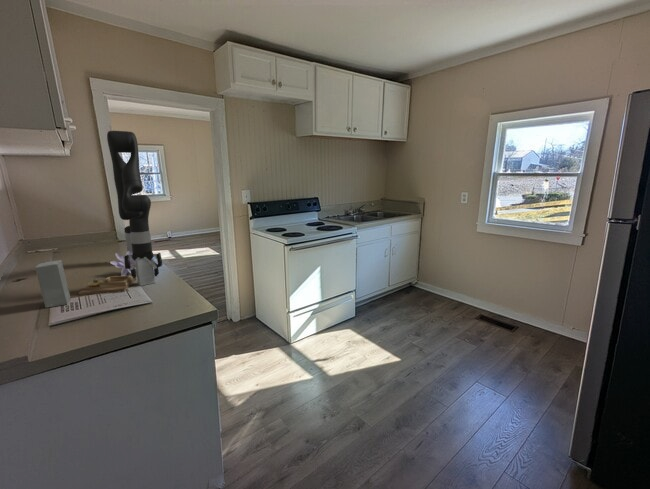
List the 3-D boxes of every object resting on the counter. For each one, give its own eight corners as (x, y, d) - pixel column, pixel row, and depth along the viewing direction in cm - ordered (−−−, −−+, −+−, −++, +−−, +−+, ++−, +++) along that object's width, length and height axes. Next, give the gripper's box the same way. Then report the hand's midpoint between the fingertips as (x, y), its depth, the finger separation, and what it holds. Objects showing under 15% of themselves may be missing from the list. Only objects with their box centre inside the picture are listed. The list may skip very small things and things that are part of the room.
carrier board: (96, 282, 137) (95, 275, 136) (136, 279, 141) (135, 273, 141) (79, 295, 122) (77, 287, 121) (124, 291, 126) (123, 284, 126)
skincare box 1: (67, 304, 113) (60, 264, 109) (42, 309, 109) (33, 266, 106) (71, 297, 120) (64, 258, 116) (47, 301, 116) (39, 261, 113)
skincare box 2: (152, 280, 140) (149, 255, 137) (155, 283, 137) (152, 257, 135) (137, 283, 136) (134, 258, 133) (140, 286, 133) (136, 259, 130)
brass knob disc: (91, 283, 132) (90, 278, 131) (105, 282, 133) (104, 277, 133) (86, 287, 127) (85, 281, 127) (100, 286, 128) (99, 281, 128)
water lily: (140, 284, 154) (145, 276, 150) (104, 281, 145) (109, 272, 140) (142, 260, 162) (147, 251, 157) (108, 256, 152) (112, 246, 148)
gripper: (161, 239, 138) (164, 273, 141) (125, 240, 134) (130, 275, 137) (157, 242, 131) (161, 278, 134) (119, 243, 127) (124, 280, 130)
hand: (145, 276), depth 136 cm, fingers open, 8 cm apart
